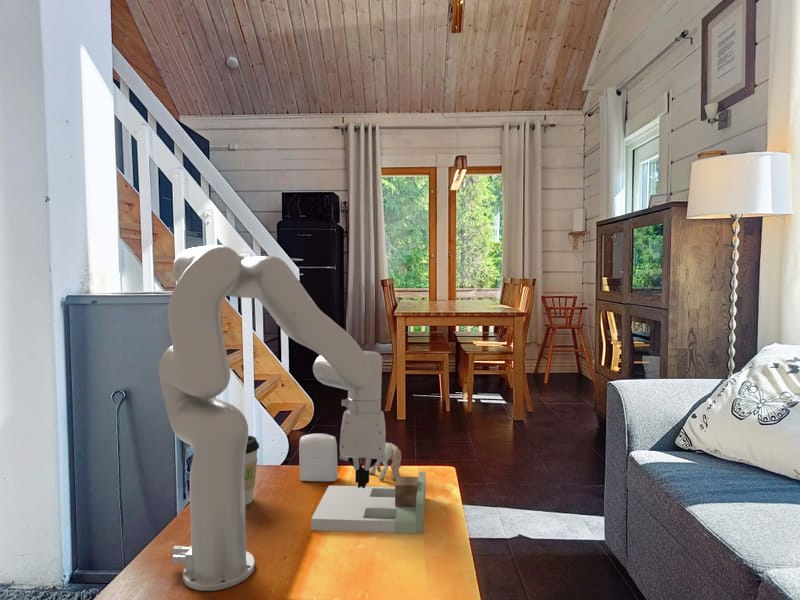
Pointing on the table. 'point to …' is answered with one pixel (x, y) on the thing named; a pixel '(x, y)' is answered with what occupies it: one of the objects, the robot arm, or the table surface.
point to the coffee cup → (250, 468)
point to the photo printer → (318, 458)
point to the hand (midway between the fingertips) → (362, 485)
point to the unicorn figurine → (395, 457)
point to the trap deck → (369, 510)
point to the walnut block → (406, 491)
